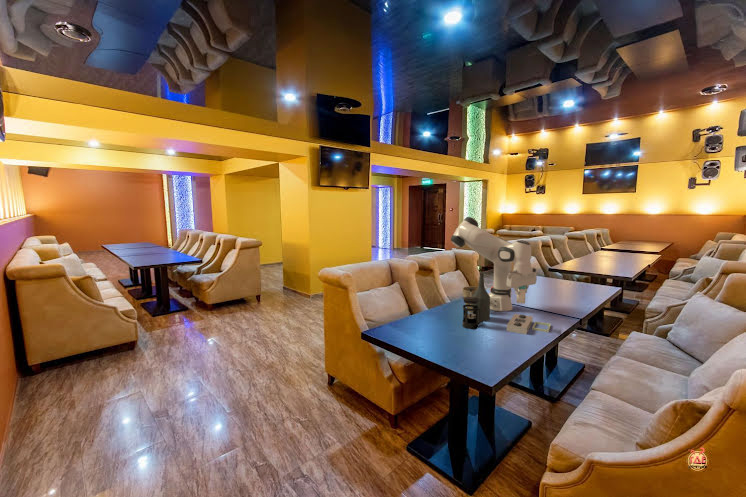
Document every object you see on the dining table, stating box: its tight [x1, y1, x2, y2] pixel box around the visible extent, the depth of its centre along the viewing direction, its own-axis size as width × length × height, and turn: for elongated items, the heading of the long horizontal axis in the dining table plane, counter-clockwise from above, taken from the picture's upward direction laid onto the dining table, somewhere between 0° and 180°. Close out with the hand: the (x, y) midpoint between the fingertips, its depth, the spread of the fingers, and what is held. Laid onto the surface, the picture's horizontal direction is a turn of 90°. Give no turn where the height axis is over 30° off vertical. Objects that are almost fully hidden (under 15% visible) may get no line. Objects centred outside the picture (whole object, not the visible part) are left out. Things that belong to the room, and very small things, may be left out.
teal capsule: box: [516, 286, 526, 305], centre depth 182 cm, size 5×5×10 cm
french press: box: [462, 288, 482, 330], centre depth 189 cm, size 12×9×23 cm
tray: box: [531, 321, 552, 333], centre depth 182 cm, size 8×12×3 cm, turn 146°
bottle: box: [471, 272, 491, 324], centre depth 198 cm, size 10×10×30 cm
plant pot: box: [461, 285, 487, 314], centre depth 216 cm, size 15×15×16 cm
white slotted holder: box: [506, 313, 534, 335], centre depth 184 cm, size 22×10×5 cm, turn 146°
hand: (521, 293), depth 182 cm, fingers closed on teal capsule, 4 cm apart
